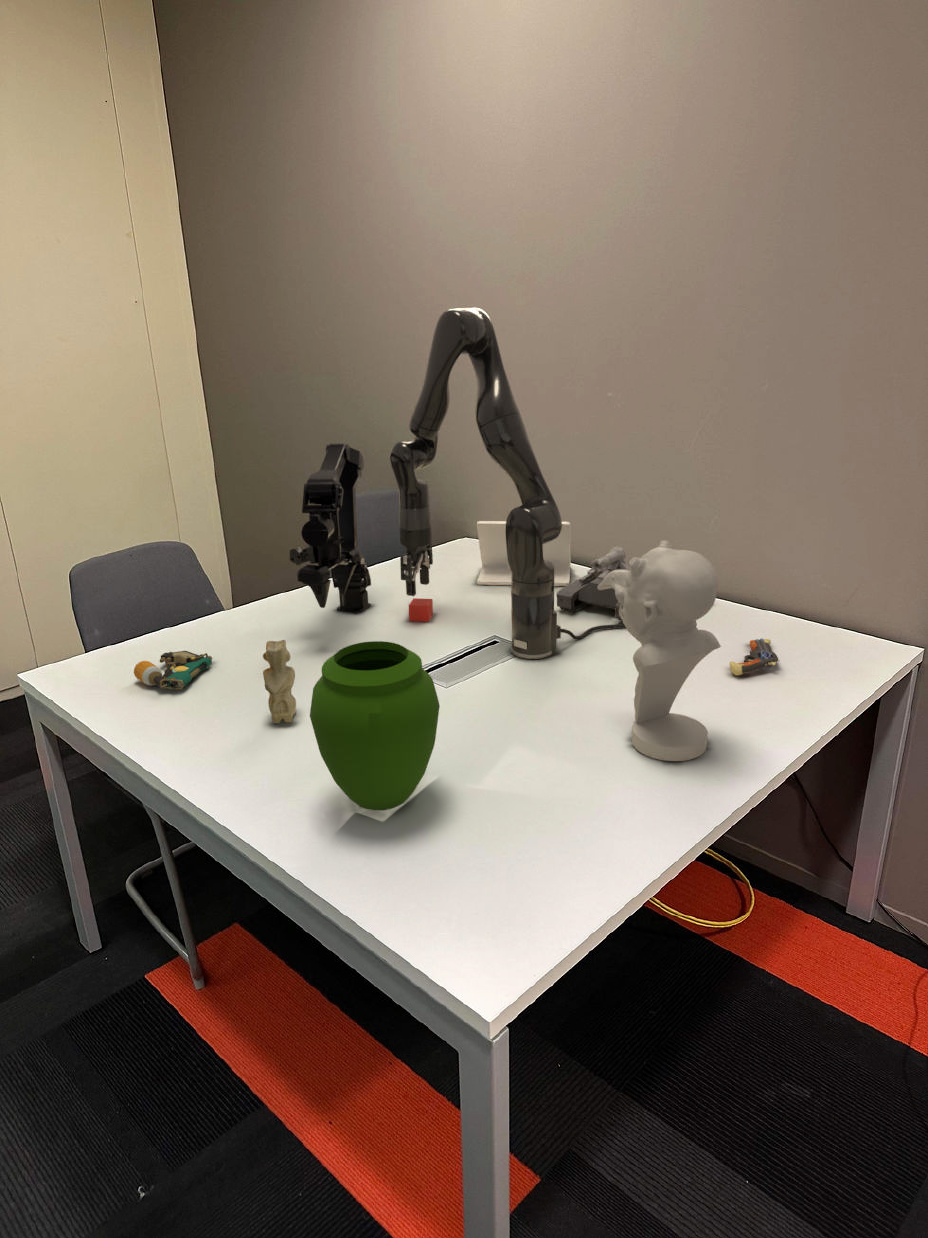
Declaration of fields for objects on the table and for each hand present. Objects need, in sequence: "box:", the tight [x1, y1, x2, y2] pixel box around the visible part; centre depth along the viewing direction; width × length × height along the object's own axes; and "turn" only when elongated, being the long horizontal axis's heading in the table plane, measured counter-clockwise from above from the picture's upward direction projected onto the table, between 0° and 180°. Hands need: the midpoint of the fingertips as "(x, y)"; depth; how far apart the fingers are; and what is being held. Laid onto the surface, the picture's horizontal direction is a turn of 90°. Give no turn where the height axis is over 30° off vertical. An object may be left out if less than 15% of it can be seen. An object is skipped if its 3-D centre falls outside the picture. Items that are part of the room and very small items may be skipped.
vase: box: [309, 640, 441, 811], centre depth 130 cm, size 20×20×24 cm
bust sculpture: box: [597, 540, 722, 762], centre depth 146 cm, size 16×24×35 cm
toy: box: [556, 546, 630, 622], centre depth 212 cm, size 25×20×15 cm
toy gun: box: [729, 638, 780, 676], centre depth 179 cm, size 3×19×10 cm
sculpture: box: [262, 639, 297, 724], centre depth 158 cm, size 6×7×15 cm
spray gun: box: [133, 650, 213, 690], centre depth 180 cm, size 4×17×15 cm
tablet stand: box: [476, 520, 572, 587], centre depth 236 cm, size 18×25×17 cm
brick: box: [408, 597, 434, 623], centre depth 209 cm, size 5×5×4 cm
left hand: (332, 600), depth 194 cm, fingers open, 9 cm apart
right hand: (418, 589), depth 207 cm, fingers open, 8 cm apart
